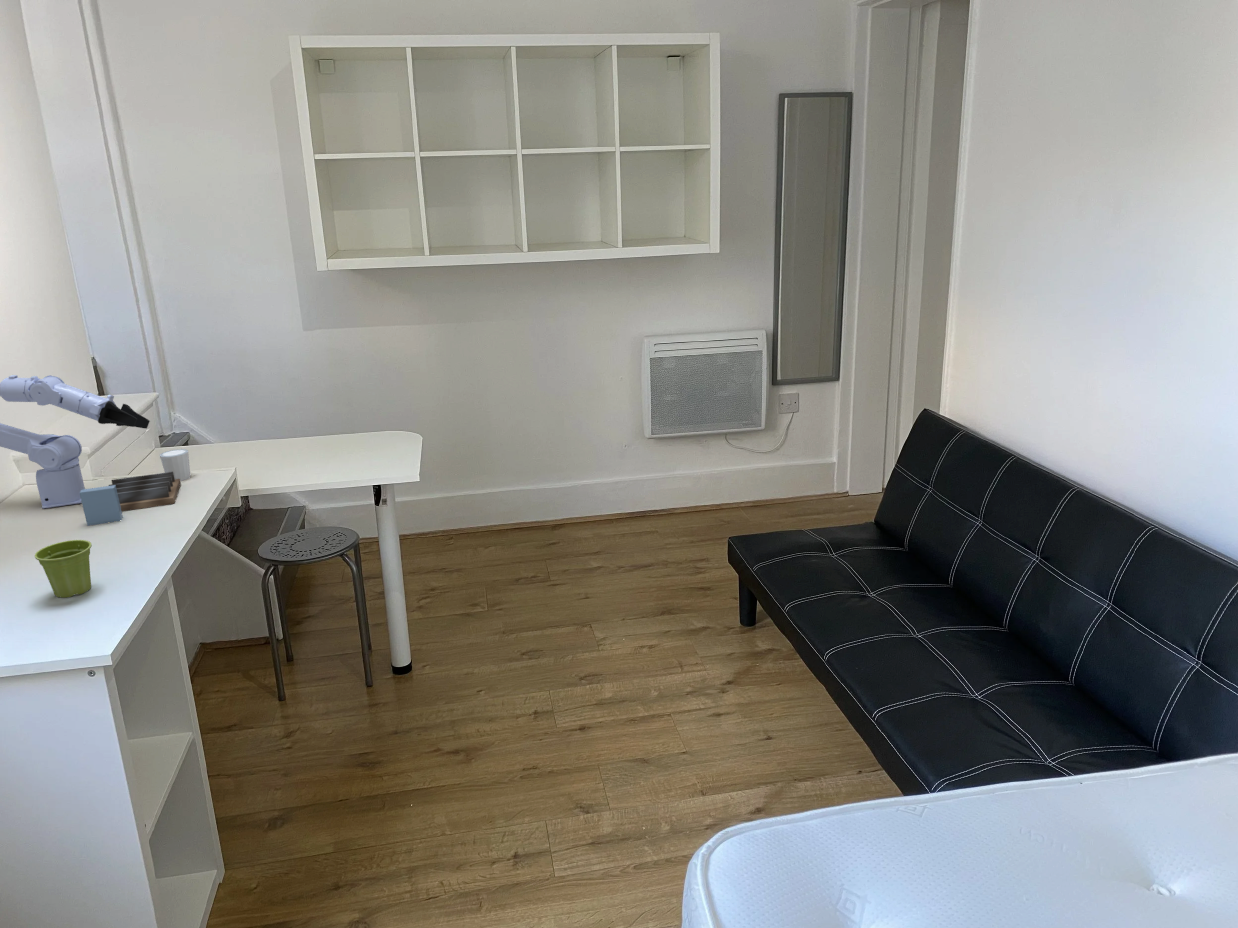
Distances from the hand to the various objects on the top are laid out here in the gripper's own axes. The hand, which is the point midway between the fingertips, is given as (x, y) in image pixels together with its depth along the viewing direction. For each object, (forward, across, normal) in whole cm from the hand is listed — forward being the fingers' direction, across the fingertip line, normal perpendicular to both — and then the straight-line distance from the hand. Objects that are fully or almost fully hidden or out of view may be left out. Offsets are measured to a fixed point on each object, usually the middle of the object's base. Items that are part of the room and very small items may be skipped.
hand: (141, 423), depth 225 cm
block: (+4, -9, +23) cm, 25 cm away
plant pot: (+17, -47, +31) cm, 59 cm away
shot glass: (+7, +20, +12) cm, 24 cm away
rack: (+5, +5, +18) cm, 19 cm away
